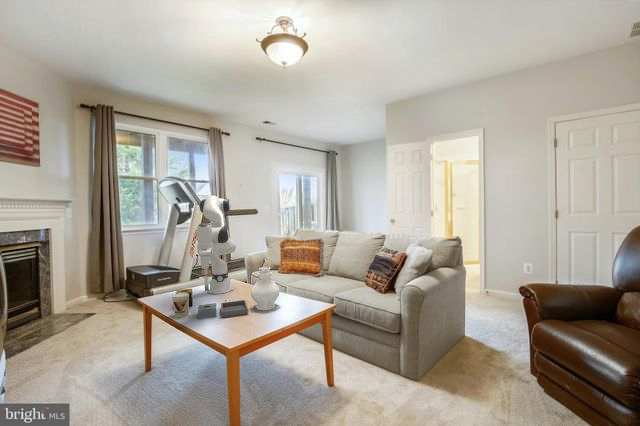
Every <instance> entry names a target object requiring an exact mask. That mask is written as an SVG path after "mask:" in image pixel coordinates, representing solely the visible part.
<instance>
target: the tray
mask: <svg viewBox="0 0 640 426" xmlns="http://www.w3.org/2000/svg"><path fill="white" fill-rule="evenodd" d="M220 306H221V308H220V309H221V319H226V318H227V319H228V318H234V317H240V316H246V315H247V316H248V315H249V308H248V305H247V301H246V300H245V299H242V300H241V299H240V300H235V301H225V302H221V303H220Z"/></svg>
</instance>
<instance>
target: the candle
mask: <svg viewBox="0 0 640 426" xmlns="http://www.w3.org/2000/svg"><path fill="white" fill-rule="evenodd" d="M179 293H188V294H189V308H192V307H193V304H194V302H193V301H194V300H193V288H184V289H183V288H182V289H176V292H175V294H179ZM175 294H174V295H175Z"/></svg>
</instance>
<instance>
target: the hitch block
mask: <svg viewBox="0 0 640 426" xmlns="http://www.w3.org/2000/svg"><path fill="white" fill-rule="evenodd" d="M216 317H217V303H216V302H213V303H206V304H199V305H198V308H197V319H198V320H201V319H209V318H216Z"/></svg>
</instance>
